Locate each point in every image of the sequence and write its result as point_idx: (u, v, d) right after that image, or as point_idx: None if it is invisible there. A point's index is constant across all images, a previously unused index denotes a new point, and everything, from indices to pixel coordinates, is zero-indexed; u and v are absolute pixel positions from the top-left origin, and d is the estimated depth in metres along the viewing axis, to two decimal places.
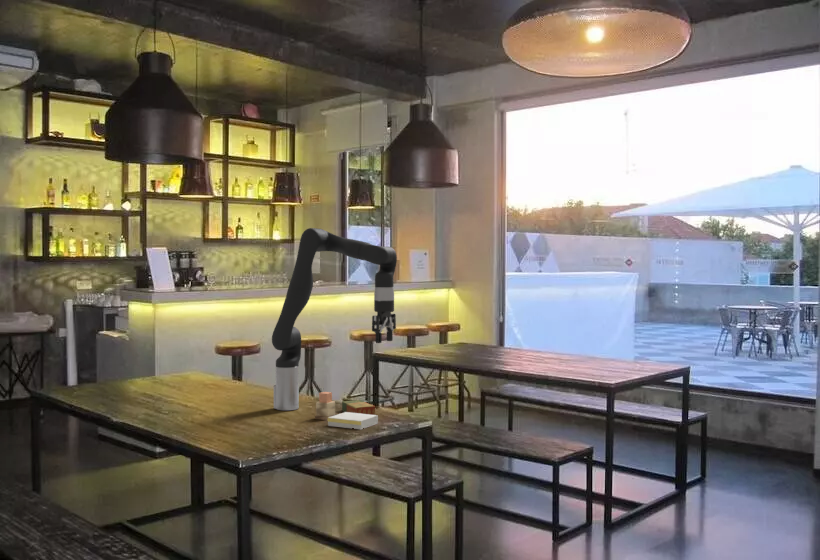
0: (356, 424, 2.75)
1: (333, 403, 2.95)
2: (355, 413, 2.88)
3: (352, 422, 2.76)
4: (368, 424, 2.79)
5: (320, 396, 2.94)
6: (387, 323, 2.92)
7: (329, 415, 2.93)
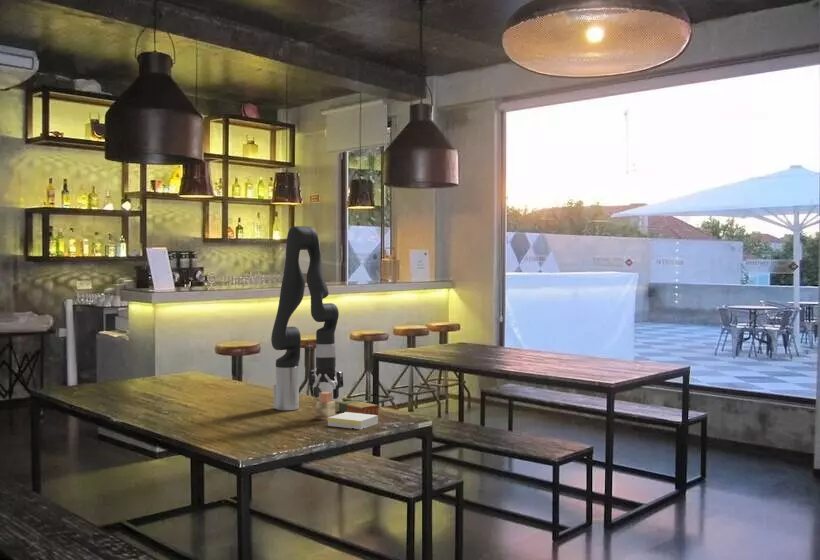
0: (356, 424, 2.75)
1: (333, 403, 2.95)
2: (355, 413, 2.88)
3: (352, 422, 2.76)
4: (368, 424, 2.79)
5: (320, 396, 2.94)
6: None
7: (329, 415, 2.93)
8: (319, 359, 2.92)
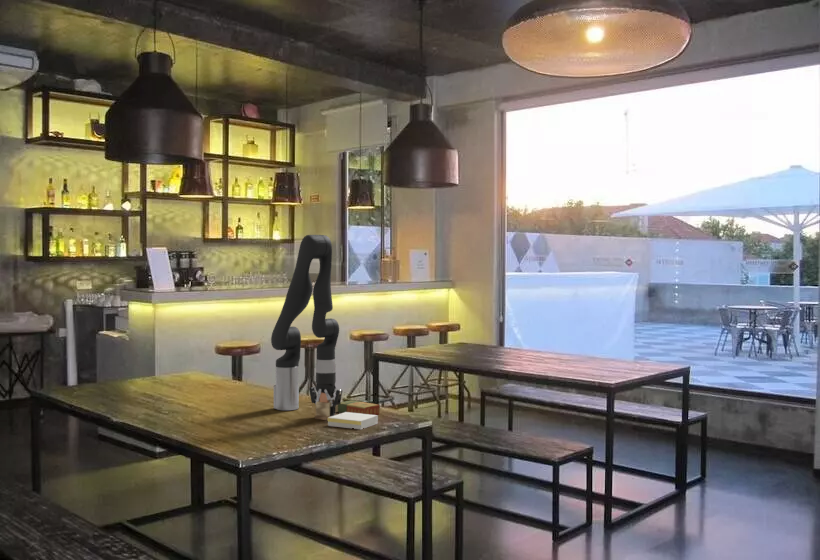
0: (356, 424, 2.75)
1: None
2: (355, 413, 2.88)
3: (352, 422, 2.76)
4: (368, 424, 2.79)
5: (320, 396, 2.94)
6: None
7: (329, 415, 2.93)
8: (319, 375, 2.92)
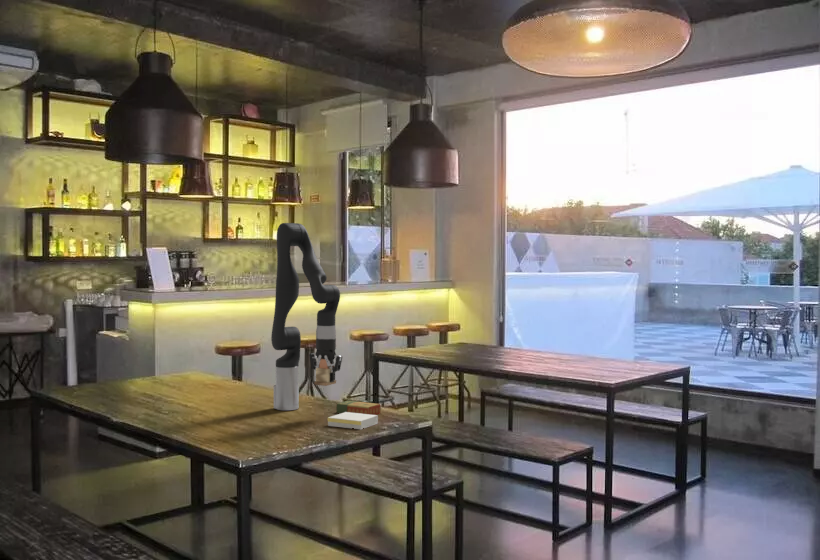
0: (356, 424, 2.75)
1: None
2: (355, 413, 2.88)
3: (352, 422, 2.76)
4: (368, 424, 2.79)
5: (320, 362, 2.94)
6: None
7: (329, 381, 2.93)
8: (319, 341, 2.92)
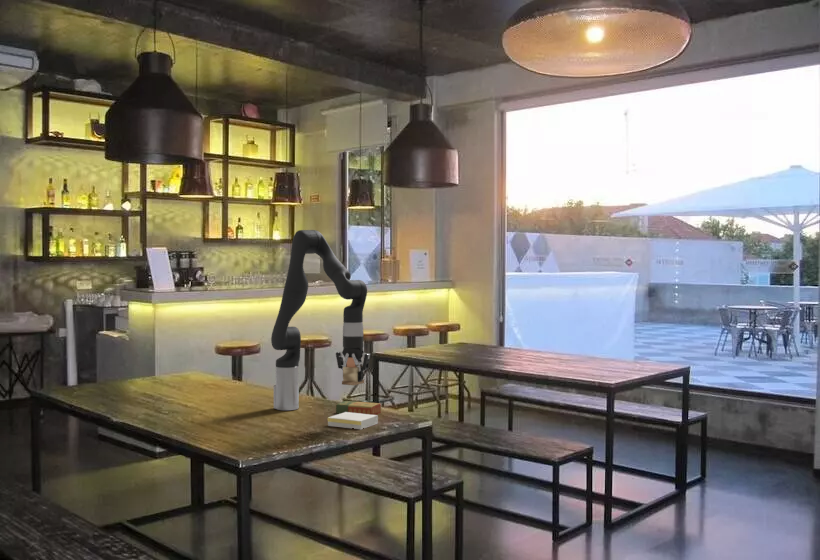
0: (356, 424, 2.75)
1: None
2: (355, 413, 2.88)
3: (352, 422, 2.76)
4: (368, 424, 2.79)
5: (348, 360, 2.81)
6: None
7: (357, 380, 2.80)
8: (346, 338, 2.79)
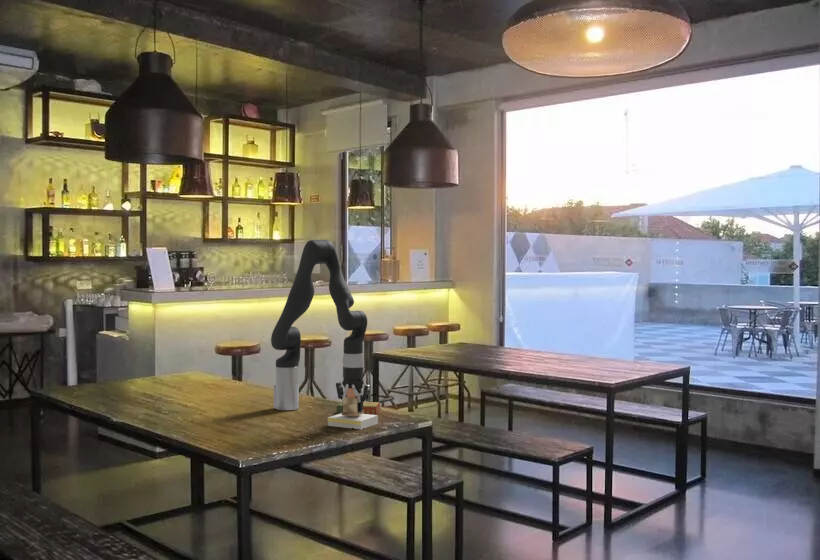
0: (356, 424, 2.75)
1: None
2: None
3: (352, 422, 2.76)
4: (368, 424, 2.79)
5: (348, 391, 2.82)
6: None
7: None
8: (346, 369, 2.79)
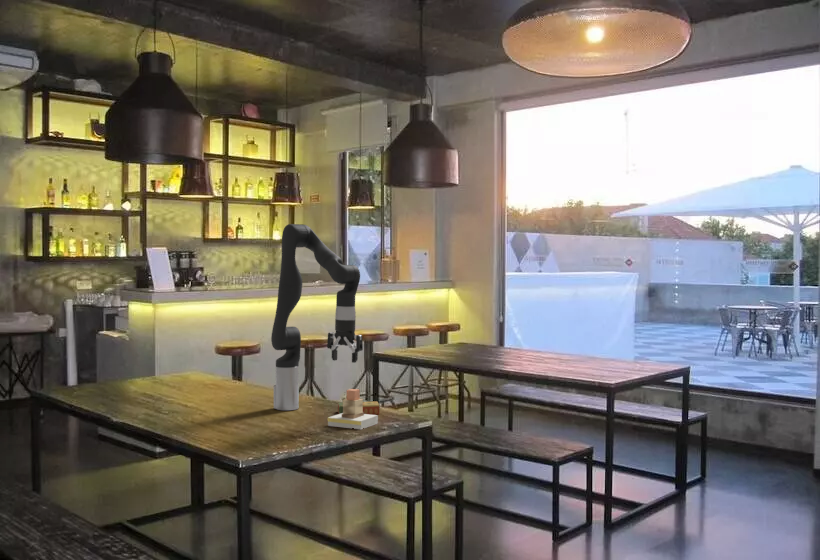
0: (356, 424, 2.75)
1: (360, 401, 2.83)
2: None
3: (352, 422, 2.76)
4: (368, 424, 2.79)
5: (347, 393, 2.82)
6: None
7: (356, 413, 2.80)
8: (339, 322, 2.86)
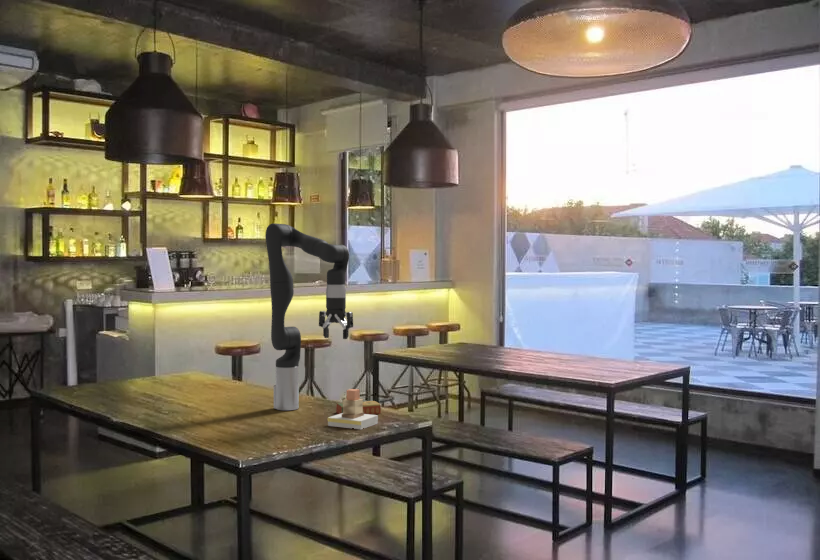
0: (356, 424, 2.75)
1: (360, 401, 2.83)
2: None
3: (352, 422, 2.76)
4: (368, 424, 2.79)
5: (347, 393, 2.82)
6: None
7: (356, 413, 2.80)
8: (329, 299, 2.94)
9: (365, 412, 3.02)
